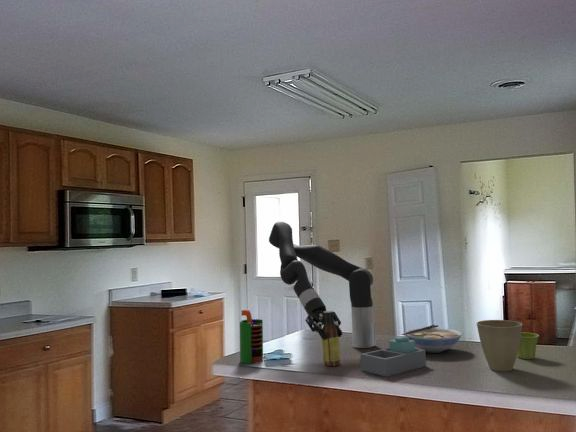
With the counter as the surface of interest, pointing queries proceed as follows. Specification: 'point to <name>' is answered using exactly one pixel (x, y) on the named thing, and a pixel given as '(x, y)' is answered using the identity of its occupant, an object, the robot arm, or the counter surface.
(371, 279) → the robot arm
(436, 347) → the ramen bowl
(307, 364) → the counter surface
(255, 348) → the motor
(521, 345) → the plant pot
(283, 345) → the counter surface
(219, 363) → the counter surface
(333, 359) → the sauce bottle
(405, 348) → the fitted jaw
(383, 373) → the box
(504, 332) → the plant pot
